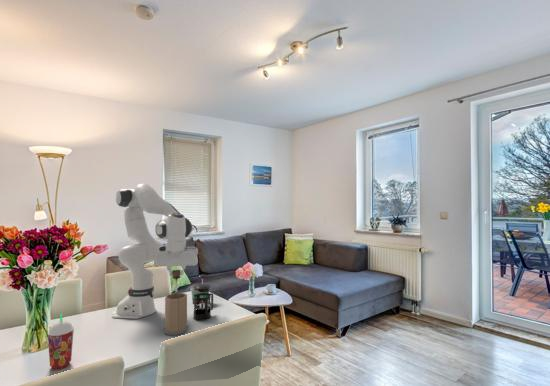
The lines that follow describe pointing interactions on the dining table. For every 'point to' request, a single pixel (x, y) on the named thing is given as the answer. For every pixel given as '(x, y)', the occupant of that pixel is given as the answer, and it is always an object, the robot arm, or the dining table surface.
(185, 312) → the kraft paper canister
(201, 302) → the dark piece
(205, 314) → the french press
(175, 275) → the plunger
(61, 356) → the smoothie
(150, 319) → the dining table surface
